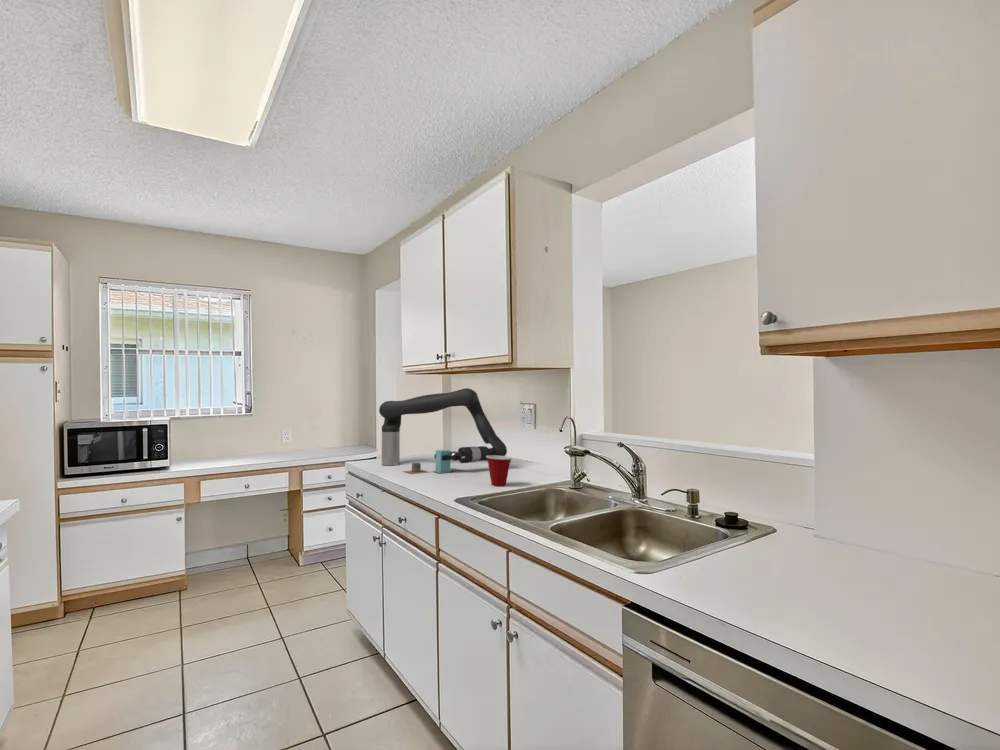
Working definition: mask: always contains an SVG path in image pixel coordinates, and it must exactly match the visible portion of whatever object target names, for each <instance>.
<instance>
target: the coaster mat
mask: <svg viewBox="0 0 1000 750" xmlns="http://www.w3.org/2000/svg"><path fill="white" fill-rule="evenodd" d="M432 473H434V474H436V475H437V474H439V475H443V474H446V473H438V472H436V470H433V471H432ZM451 473H452V474H453V473H455V471H451V470H450V472H448V473H447V474H451Z"/></svg>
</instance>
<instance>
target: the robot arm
mask: <svg viewBox="0 0 1000 750" xmlns="http://www.w3.org/2000/svg"><path fill="white" fill-rule="evenodd" d="M461 406H462V407H466V409H467V410H468V412H469V413H470V414H471V416H472V418H473V420H474V423H475V426H476V429H477V431H478V433H479V435H480V437H481V439H482V441H483V443H484V444H485V445H488V444H490V445H491V447H487V446H485V445H482V446H461V447H459V448H458V450H457V451H456V450H454V451H453V450H452V451H451V450H450V455H444V456H442V460H443V461H444V460H450V462H451V461H454V462H455V461H459V463H460V464H469V463H470V464H471V463H477V462H482V461H483V462H484V461H486V462H488V460H487V457H486V456H488V455H497V456H506V455H507V453H508V448H507V446H506V444H505V443H504V442H503V441H502V439H501V438H500V437H499V436H497V434H496V432H495V430H494V428H493V426H492V425H491V423H490V421H489V420H488V418H487V416H486V414H485V412H484V410H483V408H482V405H481V402H480V399H479V396H478V393H477V392H476V390H473V389H472V388H467V387H465V388H462V389H458V390H454V391H451V392H444V393H443V392H442V393H441V392H439V393H433V394H424V395H421V396H415V397H412V398H408V399H404V400H386V401H384V402H383V403H382V404H380V406H379V408H378V409H379V410H378V412H379V414H380V416H381V417H383V418H384V421H383V424H382V426H381V465H382V466H398V465H400V463H401V462H400V456H401V455H400V452H401V449H400V446H401V445H400V444H401V443H400V442H401V441H400V440H401V439H400V438H401V437H400V436H401V432H400V431H401V426H402V416H404V415H419V414H421V415H422V414H429V413H434V412H439V411H442V410H445V409H447V408H450V407H451V408H452V407H461ZM434 459H435V460H436V453H435V454H434Z"/></svg>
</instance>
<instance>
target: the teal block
mask: <svg viewBox="0 0 1000 750" xmlns="http://www.w3.org/2000/svg"><path fill="white" fill-rule="evenodd" d="M450 451H451V450H449V449H436V450H435V454H436V459H435V471H436V472H438V473H445V474H449V473H448V472H450V471H451V460H444V461H443V460H442V456H444V455H450Z"/></svg>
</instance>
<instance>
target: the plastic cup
mask: <svg viewBox="0 0 1000 750" xmlns="http://www.w3.org/2000/svg"><path fill="white" fill-rule="evenodd" d="M486 457H487V460H488V461H487V464H488V465H487V466H488V472H489V478H490V483H491V486H492V485H494V486H493V487H504V485H505V486H506V485H507V481H508V480H507V479H508V474H509V469H510V465H511V461H512V459H513V457H511V456H506V455H505V456H497V455H488V456H486Z"/></svg>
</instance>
